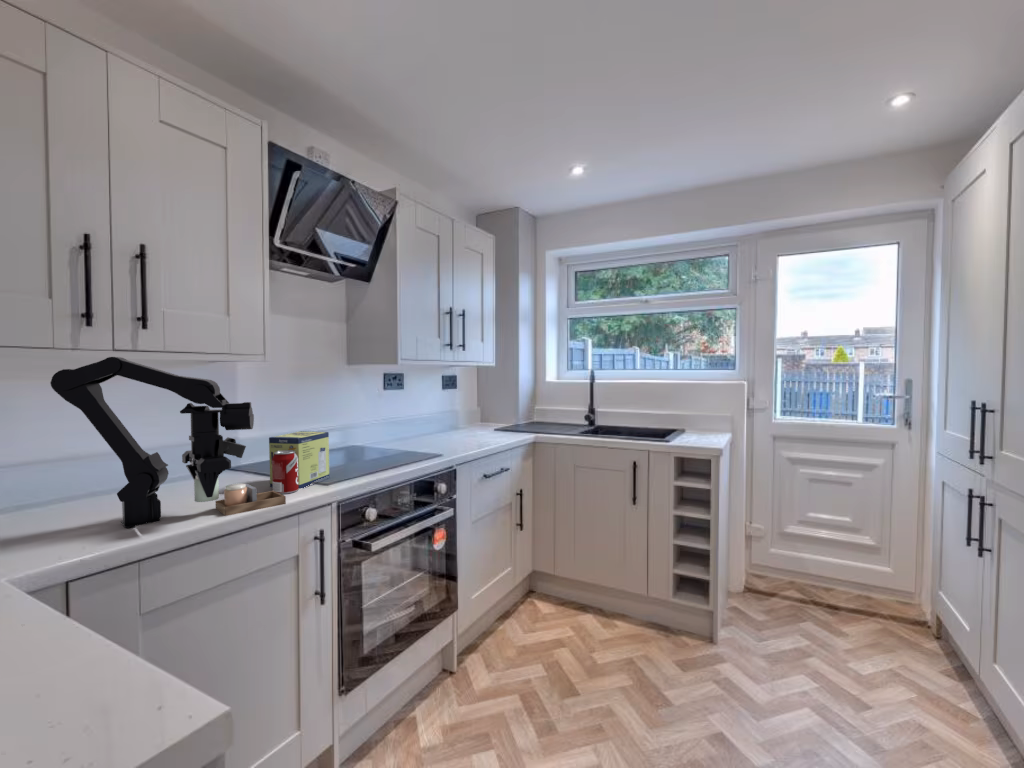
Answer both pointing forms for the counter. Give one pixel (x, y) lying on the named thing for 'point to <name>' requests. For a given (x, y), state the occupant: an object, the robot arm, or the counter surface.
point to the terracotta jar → (235, 494)
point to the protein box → (304, 454)
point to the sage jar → (200, 493)
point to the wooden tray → (253, 503)
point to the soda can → (285, 472)
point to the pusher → (251, 493)
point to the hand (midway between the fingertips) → (206, 495)
